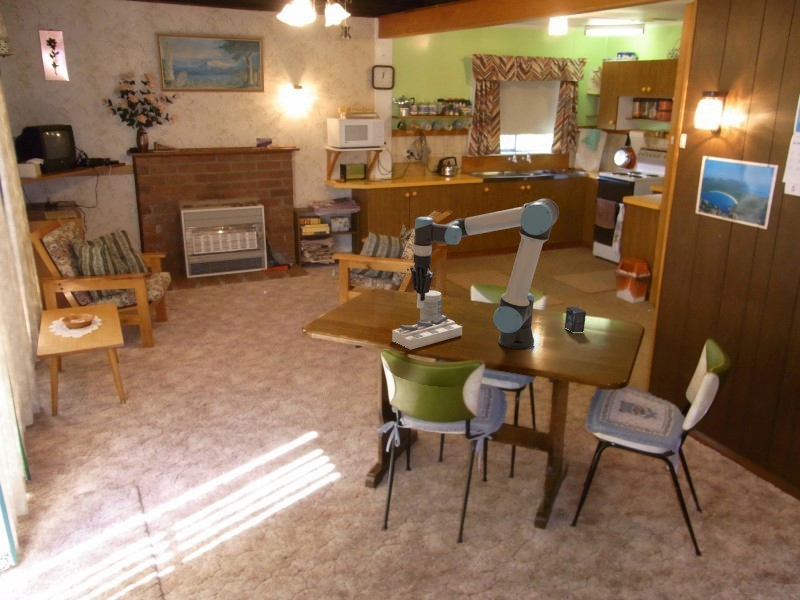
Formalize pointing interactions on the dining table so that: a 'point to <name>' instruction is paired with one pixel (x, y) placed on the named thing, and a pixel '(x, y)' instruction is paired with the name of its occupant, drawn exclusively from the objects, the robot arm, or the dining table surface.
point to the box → (575, 319)
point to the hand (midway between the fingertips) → (420, 307)
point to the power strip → (426, 334)
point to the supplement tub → (431, 306)
